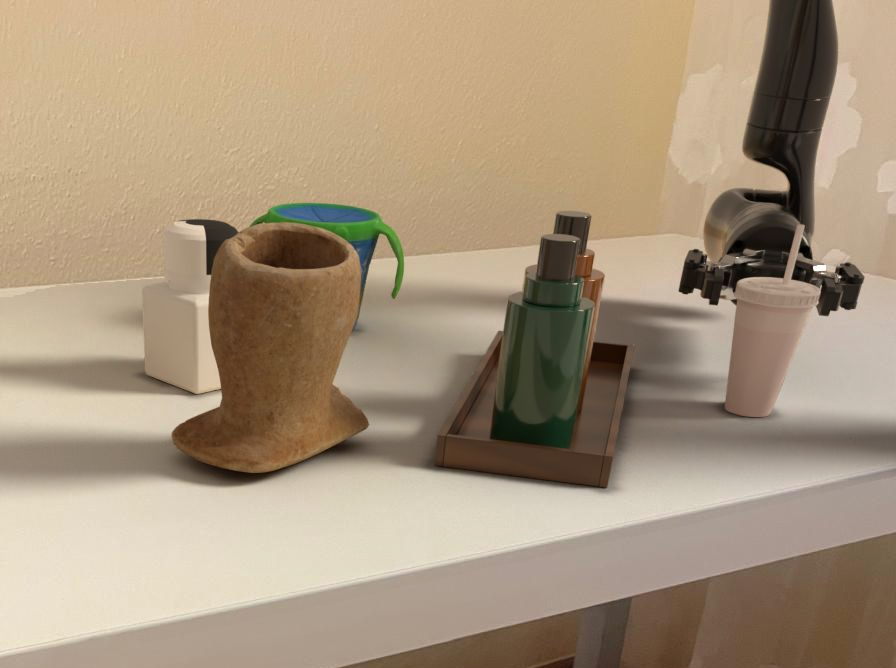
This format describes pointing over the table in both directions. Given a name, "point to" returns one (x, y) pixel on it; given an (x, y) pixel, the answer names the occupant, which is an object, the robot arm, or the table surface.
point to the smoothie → (766, 336)
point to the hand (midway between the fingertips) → (771, 297)
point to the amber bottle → (581, 273)
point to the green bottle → (543, 350)
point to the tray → (582, 464)
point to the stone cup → (277, 349)
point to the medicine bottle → (184, 307)
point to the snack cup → (343, 231)
